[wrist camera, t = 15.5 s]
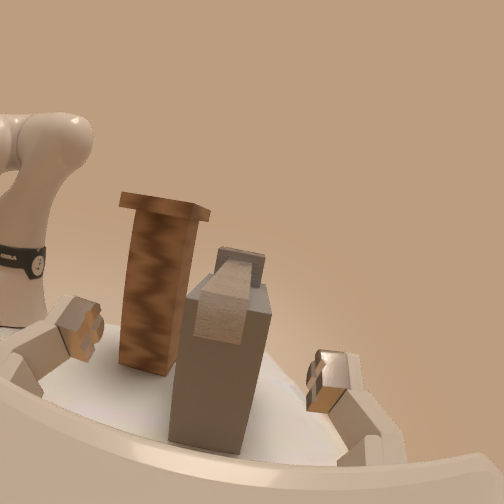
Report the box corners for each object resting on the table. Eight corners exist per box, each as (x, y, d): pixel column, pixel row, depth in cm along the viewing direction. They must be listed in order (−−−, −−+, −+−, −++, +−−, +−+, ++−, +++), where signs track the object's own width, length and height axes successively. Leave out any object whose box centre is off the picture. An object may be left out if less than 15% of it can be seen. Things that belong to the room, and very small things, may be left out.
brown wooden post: (102, 371, 40) (121, 191, 39) (137, 337, 56) (156, 201, 55) (165, 390, 40) (193, 203, 39) (187, 350, 56) (210, 210, 55)
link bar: (170, 330, 19) (179, 269, 19) (217, 273, 45) (222, 246, 45) (263, 349, 19) (276, 288, 19) (258, 281, 45) (264, 254, 45)
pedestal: (168, 440, 29) (185, 297, 28) (192, 379, 45) (209, 273, 44) (239, 454, 30) (271, 314, 28) (243, 389, 46) (265, 284, 44)
